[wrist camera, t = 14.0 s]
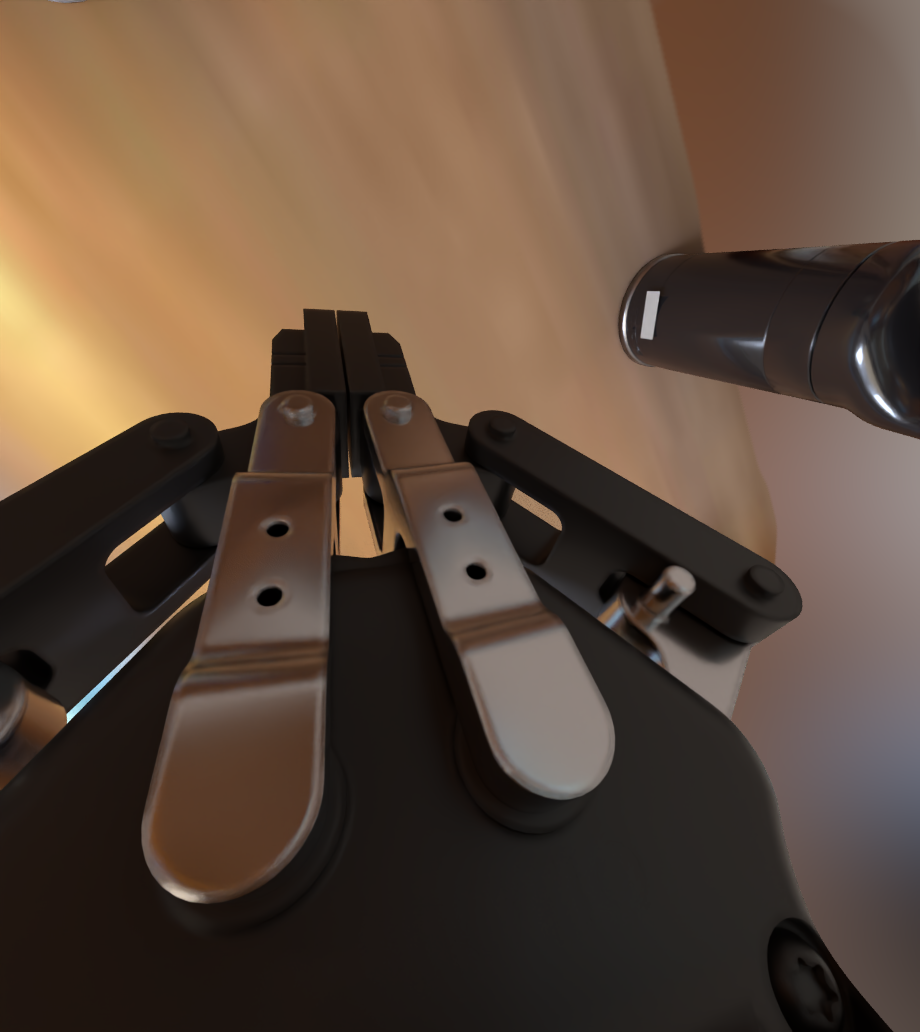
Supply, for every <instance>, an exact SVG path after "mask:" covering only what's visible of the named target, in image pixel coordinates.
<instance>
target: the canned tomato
mask: <svg viewBox="0 0 920 1032" xmlns="http://www.w3.org/2000/svg"><path fill="white" fill-rule="evenodd" d="M50 1H56V2H62V3H71V2H83V1H85V0H50Z"/></svg>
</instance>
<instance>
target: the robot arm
mask: <svg viewBox="0 0 920 1032" xmlns="http://www.w3.org/2000/svg"><path fill="white" fill-rule="evenodd" d="M303 311H304V330H293V329H282V330H281V331H280V332H279V333H278V334H277V335H276V336H275V337H274V338H273V339H272V359H271V363H272V365H271V384H270V397H269V398H268V399H266V400H265V401H264V402H263V404H262V405H261V408H260V412H259V417H258V419H256V420H255V421H253V422H251V423H248V424H246V425H243V426H239V427H235V428H231V429H226V430H222V431H217V428H216V426H215V425H214V424H213V423H212V422H211V421H210V420H209V419H207V418H205V417H203V416H200V415H196V414H192V413H167V414H161V415H157V416H154V417H151V418H148V419H146V420H144V421H142V422H140V423H138V424H136V425H135V426H133V427H131V428H129V429H128V430H126V431H124V432H122V433H120V434H119V435H117V436H115V437H113V438H112V439H110V440H108V441H106V442H105V443H103V444H101V445H99V446H97V447H96V448H94V449H92V450H90V451H89V452H87V453H85V454H83V455H82V456H80V457H78V458H76V459H74V460H73V461H71V462H69V463H67V464H66V465H64V466H62V467H60V468H59V469H57V470H55V471H53V472H51V473H50V474H48V475H46V476H44V477H43V478H41V479H39V480H37V481H36V482H34V483H32V484H30V485H28V486H27V487H25V488H23V489H21V490H20V491H18V492H16V493H14V494H12V495H11V496H9V497H7V498H5V499H4V500H2V501H0V1032H893V1031H892V1030H891V1029H890V1028H889V1027H888V1025H887V1024H886V1023H885V1022H884V1021H883V1020H882V1018H880V1016H879V1015H878V1014H877V1013H876V1011H875V1010H874V1009H873V1008H872V1007H871V1006H870V1004H869V1003H868V1002H867V1001H866V1000H865V999H864V997H863V996H862V995H861V994H860V993H859V991H858V990H857V989H856V988H855V987H854V985H853V984H852V983H851V981H850V980H849V979H848V978H847V976H846V975H845V974H844V972H843V971H842V969H841V968H840V967H839V965H838V964H837V962H836V961H835V960H834V958H833V957H832V955H831V954H830V952H829V951H828V949H827V947H826V946H825V944H824V942H823V941H822V939H821V937H820V935H819V934H818V932H817V930H816V928H815V926H814V924H813V922H812V920H811V917H810V915H809V912H808V909H807V907H806V904H805V902H804V899H803V897H802V894H801V891H800V889H799V886H798V883H797V880H796V877H795V873H794V870H793V867H792V864H791V861H790V857H789V853H788V849H787V846H786V842H785V838H784V832H783V827H782V822H781V817H780V812H779V807H778V803H777V798H776V795H775V792H774V789H773V786H772V783H771V781H770V779H769V776H768V774H767V772H766V770H765V767H764V765H763V764H762V762H761V760H760V759H759V757H758V755H757V753H756V751H755V750H754V749H753V747H752V746H751V744H750V743H749V742H748V740H747V739H746V738H745V736H744V735H743V734H742V733H741V731H740V730H739V729H738V728H737V727H736V725H734V723H733V722H732V721H731V717H732V714H733V710H734V707H735V703H736V699H737V696H738V692H739V689H740V686H741V682H742V679H743V675H744V671H745V668H746V664H747V661H748V657H749V654H750V650H751V648H752V647H753V646H754V645H756V644H757V643H759V642H760V641H762V640H763V639H765V638H766V637H768V636H769V635H771V634H772V633H774V632H775V631H777V630H778V629H780V628H781V627H783V626H784V625H786V624H787V623H789V622H790V621H792V620H793V619H795V618H796V617H797V616H799V614H800V612H801V611H802V599H801V596H800V593H799V591H798V589H797V588H796V586H795V584H794V583H793V582H792V581H791V579H790V578H789V577H788V576H787V575H786V574H785V573H784V572H783V571H782V570H781V569H779V568H778V567H777V566H776V565H774V564H773V563H771V562H769V561H768V560H766V559H764V558H763V557H761V556H759V555H757V554H756V553H754V552H752V551H750V550H749V549H747V548H745V547H743V546H742V545H740V544H738V543H736V542H735V541H733V540H731V539H730V538H728V537H726V536H724V535H723V534H721V533H719V532H717V531H716V530H714V529H712V528H710V527H709V526H707V525H705V524H703V523H702V522H700V521H698V520H696V519H695V518H693V517H691V516H689V515H688V514H686V513H684V512H682V511H681V510H679V509H677V508H675V507H674V506H672V505H670V504H669V503H667V502H665V501H663V500H662V499H660V498H658V497H656V496H655V495H653V494H651V493H649V492H648V491H646V490H644V489H642V488H641V487H639V486H637V485H635V484H634V483H632V482H630V481H628V480H627V479H625V478H623V477H621V476H620V475H618V474H616V473H615V472H613V471H611V470H609V469H608V468H606V467H604V466H602V465H601V464H599V463H597V462H595V461H594V460H592V459H590V458H588V457H587V456H585V455H583V454H581V453H580V452H578V451H576V450H574V449H573V448H571V447H569V446H567V445H566V444H564V443H562V442H560V441H559V440H557V439H555V438H554V437H552V436H550V435H548V434H547V433H545V432H543V431H541V430H540V429H538V428H536V427H534V426H533V425H531V424H529V423H527V422H526V421H524V420H522V419H520V418H519V417H517V416H515V415H512V414H510V413H507V412H503V411H495V410H489V411H483V412H480V413H477V414H475V415H474V416H473V417H472V418H471V419H470V422H469V426H468V427H467V426H462V425H457V424H452V423H448V422H444V421H441V420H439V419H436V418H434V416H433V414H432V412H431V409H430V407H429V406H428V404H427V403H426V402H425V401H424V400H422V399H421V398H419V397H418V396H416V394H415V390H414V387H413V384H412V381H411V378H410V374H409V371H408V368H407V365H406V362H405V359H404V355H403V352H402V349H401V346H400V344H399V343H398V342H397V341H396V340H395V339H394V338H393V337H392V336H391V335H390V334H389V333H372V331H371V327H370V323H369V319H368V315H367V312H360V311H341V310H337V325H336V318H335V311H334V310H321V309H303ZM619 337H620V341H621V344H622V347H623V349H624V351H625V353H626V354H627V355H628V357H629V358H630V359H631V360H633V361H634V362H636V363H638V364H641V365H645V366H650V367H659V368H664V369H669V370H672V371H677V372H681V373H686V374H690V375H695V376H699V377H704V378H709V379H713V380H718V381H722V382H727V383H731V384H736V385H740V386H745V387H750V388H754V389H759V390H764V391H768V392H772V393H778V394H782V395H787V396H792V397H796V398H801V399H806V400H810V401H814V402H819V403H823V404H828V405H832V406H836V407H841V408H845V409H847V410H849V411H850V412H852V413H853V414H855V415H856V416H857V417H859V418H860V419H862V420H863V421H865V422H867V423H869V424H872V425H874V426H876V427H879V428H882V429H885V430H889V431H893V432H897V433H900V434H903V435H907V436H910V437H914V438H917V439H920V240H912V241H899V242H883V243H868V244H852V245H839V246H824V247H823V246H822V247H808V248H807V247H806V248H789V249H773V250H755V251H740V252H722V253H702V254H686V255H685V254H667V255H662V256H660V257H657V258H655V259H653V260H652V261H650V262H649V263H648V264H646V265H645V266H644V267H643V268H642V269H641V270H640V271H639V272H638V273H637V275H636V276H635V277H634V279H633V280H632V282H631V283H630V285H629V287H628V289H627V291H626V293H625V296H624V298H623V301H622V305H621V309H620V314H619ZM348 452H349V460H350V467H351V475H352V477H362V480H363V503H364V507H365V511H366V515H367V519H368V523H369V527H370V531H371V535H372V539H373V543H374V547H375V550H376V554H377V556H376V557H372V558H360V557H351V556H342V555H340V497H341V495H342V478H349V464H348ZM515 488H517V489H518V490H520V491H522V492H523V493H525V494H526V495H528V496H529V497H531V498H533V499H534V500H536V501H537V502H539V503H540V504H542V505H544V506H545V507H547V508H548V509H550V510H551V511H553V512H554V513H555V514H556V515H557V516H558V517H559V519H560V521H561V524H562V531H560V530H558V529H556V528H554V527H553V526H551V525H550V524H548V523H547V522H545V521H544V520H542V519H540V518H539V517H537V516H536V515H534V514H533V513H531V512H530V511H528V510H527V509H525V508H523V507H522V506H520V505H519V504H517V503H516V502H514V501H513V500H511V498H512V496H513V493H514V490H515ZM160 514H161V515H162V517H163V519H164V522H162V523H161V524H160V525H158V526H157V527H156V528H155V529H153V530H152V531H151V532H149V533H148V534H147V535H145V536H144V537H143V538H142V539H140V540H139V541H138V542H136V543H135V544H134V545H132V546H131V547H130V548H128V549H127V550H126V551H125V552H123V553H122V554H121V555H119V556H118V557H117V558H115V559H114V560H113V561H112V562H110V563H109V564H108V565H106V566H105V564H106V561H107V559H108V557H109V555H110V554H111V553H112V551H113V550H114V549H115V548H116V547H117V546H118V545H120V544H121V543H122V542H124V541H125V540H126V539H128V538H129V537H130V536H132V535H133V534H134V533H136V532H137V531H138V530H140V529H141V528H142V527H144V526H145V525H146V524H148V523H149V522H150V521H152V520H153V519H154V518H156V517H157V516H158V515H160ZM209 579H210V581H209V586H208V590H207V592H206V593H205V594H203V595H201V596H200V597H198V598H197V599H195V600H194V601H192V602H191V603H189V604H188V605H187V606H186V607H184V608H183V609H182V610H181V611H180V612H178V613H177V614H176V615H175V616H174V617H173V618H172V619H171V620H169V621H168V622H167V623H166V624H165V625H164V626H163V627H162V628H161V629H160V630H159V631H158V632H157V633H156V634H155V635H154V637H153V638H152V639H151V640H150V641H149V642H148V643H147V644H146V645H145V646H144V647H143V648H142V649H141V650H140V651H139V652H138V653H137V654H136V655H135V656H134V657H133V658H132V659H131V660H130V661H129V662H128V663H127V664H126V665H125V666H124V667H123V668H122V669H121V670H120V671H119V672H118V673H117V674H116V675H115V676H114V677H113V678H112V679H111V680H110V681H109V682H108V683H107V684H106V685H105V686H104V687H103V688H102V689H101V690H100V691H99V692H98V693H97V694H96V695H95V696H94V697H93V698H92V699H91V700H90V701H89V702H88V703H87V704H86V705H85V706H84V707H83V708H82V709H81V710H80V711H79V712H78V713H77V714H76V715H75V716H74V717H73V718H72V719H71V720H70V721H69V722H68V723H67V716H66V714H67V713H68V712H69V711H70V710H71V709H72V708H73V707H74V706H76V705H77V704H78V703H79V702H80V701H81V700H82V699H83V698H84V697H85V696H86V695H87V694H88V693H89V692H90V691H91V690H92V689H93V688H95V687H96V686H97V685H98V684H99V683H100V682H101V681H102V680H103V679H104V678H105V677H106V676H107V675H108V674H109V673H110V672H111V671H112V670H114V669H115V668H116V667H117V666H118V665H119V664H120V663H121V662H122V661H123V660H124V659H125V658H126V657H127V656H128V655H129V654H130V653H132V652H133V651H134V650H135V649H136V648H137V647H138V646H139V645H140V644H141V643H142V642H143V641H144V640H145V639H146V638H147V637H148V636H149V635H151V634H152V633H153V632H154V631H155V630H156V629H157V628H158V627H159V626H160V625H161V624H162V623H163V622H164V621H165V620H166V619H167V618H169V617H170V616H171V615H172V614H173V613H174V612H175V611H176V610H177V609H178V608H179V607H180V606H181V605H182V604H183V603H184V602H185V601H186V600H188V599H189V598H190V597H191V596H192V595H193V594H194V593H195V592H196V591H197V590H198V589H199V588H200V587H201V586H202V585H203V584H204V583H206V582H207V581H208V580H209Z"/></svg>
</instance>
